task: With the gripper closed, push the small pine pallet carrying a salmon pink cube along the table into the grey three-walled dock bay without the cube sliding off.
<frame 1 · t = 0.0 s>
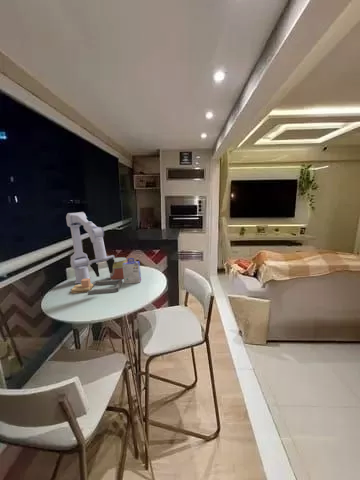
hand: (104, 274, 139), 11 cm above the table, tool pointing down, fingers open, 7 cm apart
dock: (107, 287, 149), on the table
canned food: (119, 277, 167), on the table
pallet: (82, 290, 148), on the table, touching salmon pink cube
salmon pink cube: (86, 286, 148), point 2 cm above the table, touching pallet
ink cartridge box: (133, 282, 157), on the table
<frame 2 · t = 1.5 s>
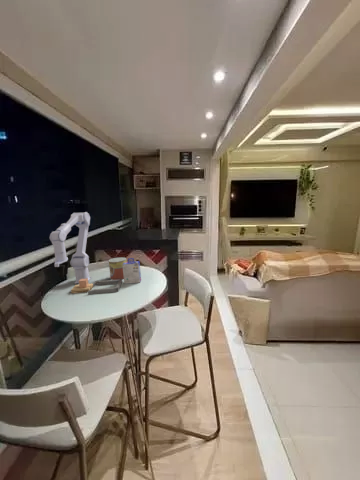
hand: (63, 275, 146), 9 cm above the table, tool pointing down, fingers open, 5 cm apart
pallet: (82, 290, 148), on the table
salmon pink cube: (84, 286, 148), point 2 cm above the table
everything else where it was.
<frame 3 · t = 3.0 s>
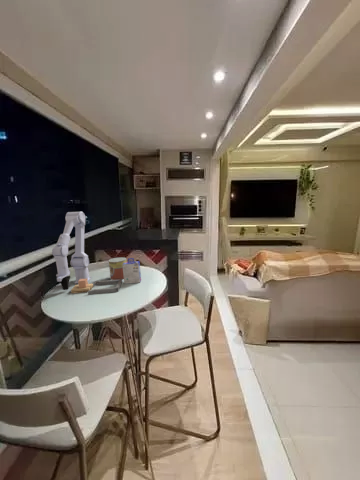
hand: (65, 289, 148), 1 cm above the table, tool pointing down, fingers closed
pallet: (82, 290, 148), on the table, touching salmon pink cube
salmon pink cube: (83, 286, 148), point 2 cm above the table, touching pallet
everything else where it was.
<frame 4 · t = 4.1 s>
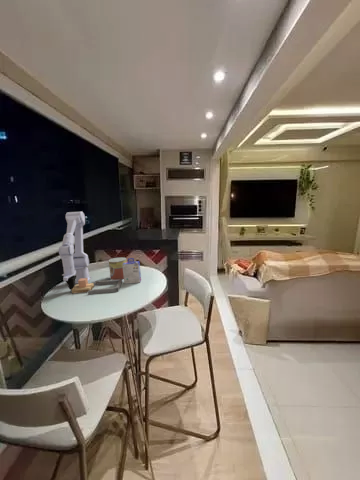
hand: (72, 288, 148), 1 cm above the table, tool pointing down, fingers closed, pressing on pallet
pallet: (83, 290, 148), on the table, touching salmon pink cube, gripper
everything else where it was.
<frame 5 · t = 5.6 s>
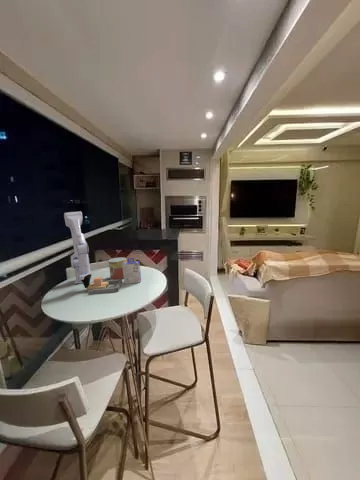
hand: (87, 287, 148), 1 cm above the table, tool pointing down, fingers closed, pressing on pallet
pallet: (98, 288, 149), on the table, touching salmon pink cube, gripper
salmon pink cube: (98, 284, 149), point 2 cm above the table, touching pallet
everything else where it was.
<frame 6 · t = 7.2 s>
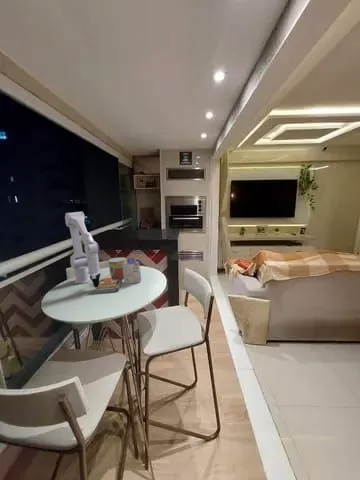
hand: (96, 286, 149), 1 cm above the table, tool pointing down, fingers closed
pallet: (108, 287, 150), on the table, touching salmon pink cube
salmon pink cube: (108, 283, 149), point 2 cm above the table, touching pallet
everything else where it was.
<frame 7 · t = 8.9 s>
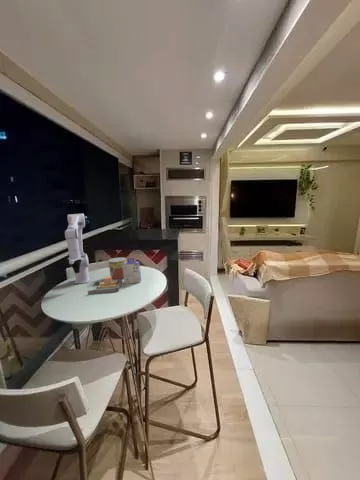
hand: (77, 272, 148), 10 cm above the table, tool pointing down, fingers closed
nothing on the table moved.
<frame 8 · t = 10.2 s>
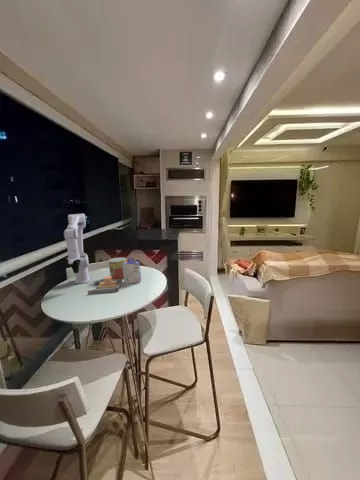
hand: (76, 272, 148), 10 cm above the table, tool pointing down, fingers closed
nothing on the table moved.
at the end: pallet 1.2 cm off-centre on the dock, point 0.0 cm above the dock's base; salmon pink cube inside the target area on the pallet (0.4 cm from its centre), point 2.4 cm above the pallet's base; salmon pink cube tilted 0° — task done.
